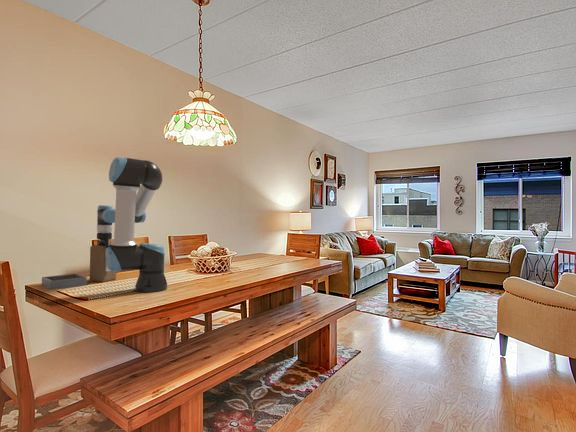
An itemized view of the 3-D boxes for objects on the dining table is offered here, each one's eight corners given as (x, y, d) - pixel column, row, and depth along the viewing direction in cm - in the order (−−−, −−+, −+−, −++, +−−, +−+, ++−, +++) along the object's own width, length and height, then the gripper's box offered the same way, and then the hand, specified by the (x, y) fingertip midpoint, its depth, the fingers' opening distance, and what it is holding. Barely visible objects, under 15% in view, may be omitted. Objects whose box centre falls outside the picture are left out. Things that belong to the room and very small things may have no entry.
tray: (86, 284, 174) (86, 277, 174) (50, 289, 162) (50, 281, 162) (76, 280, 185) (76, 273, 185) (41, 284, 172) (41, 277, 172)
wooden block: (103, 282, 181) (104, 246, 181) (88, 281, 183) (89, 245, 183) (117, 279, 191) (117, 245, 191) (102, 278, 193) (103, 244, 193)
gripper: (120, 233, 182) (119, 271, 182) (103, 231, 198) (102, 266, 198) (106, 233, 176) (105, 273, 176) (89, 231, 192) (88, 267, 192)
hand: (103, 269), depth 187 cm, fingers open, 13 cm apart
